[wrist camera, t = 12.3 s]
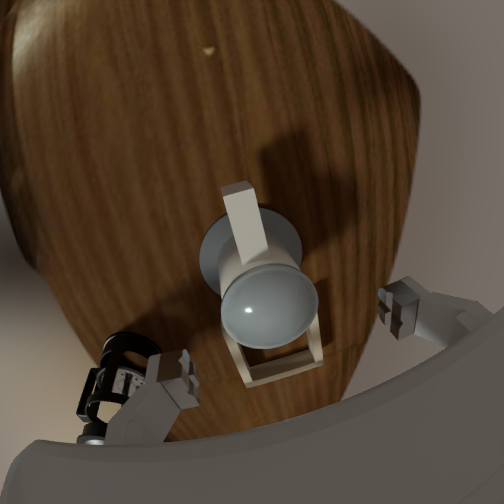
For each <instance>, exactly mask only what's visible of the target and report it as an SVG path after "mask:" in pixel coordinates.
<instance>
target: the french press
mask: <svg viewBox="0 0 504 504" xmlns="http://www.w3.org/2000/svg"><path fill="white" fill-rule="evenodd" d="M123 350H127V351H132V352H135V353H138V354H140V355H142V356H144V357H146V358H147V359H149V357H150V356H152V355H157V354H162V352H161V350H160V348H159V347H158V346H157V345H156V344H155V343H154V342H153V341H151V340H150V339H148V338H146V337H144V336H142V335H139V334H136V333H130V332H120V333H116V334H113V335H111V336H110V337H109V338H108V339H107V340H106V341H105V344H104V346H103V353H102V356H101V359H100V368H91V369H90V372H89V374H88V378H87V380H86V383H85V386H84V389H83V392H82V395H81V398H80V401H79V405H78V408H77V412H76V414H77V416H78V417H79V418H80V419H81V420H82V421H83V422H89V423H88V424H86V425H85V426H84V429H83V434H82V435H79V436H78V438H77V444H92V445H104V441H105V436H106V431H107V426H108V423H105V422H103V421H102V420H100V419H99V418H98V417H97V413H98V409H99V405H100V401H107V402H114V403H119V404H122V405H121V407H122V406H123V405H124V404H125V403H126V401H127V400H128V399H129V398H130V397H131V396H132V395H133V394H134V392H135V391H136V390H137V389H138V388H139V387H140V386H141V385H144V382H145V376H146V372H144V373H142V372H141V371H139V370H137V369H134V368H132V367H128V366H124V365H119V363H120V360H121V356H122V353H123ZM95 381H97V383H96V386H95V390H94V394H92V391H93V388H94V385H95ZM89 404H90V407H89Z"/></svg>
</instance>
